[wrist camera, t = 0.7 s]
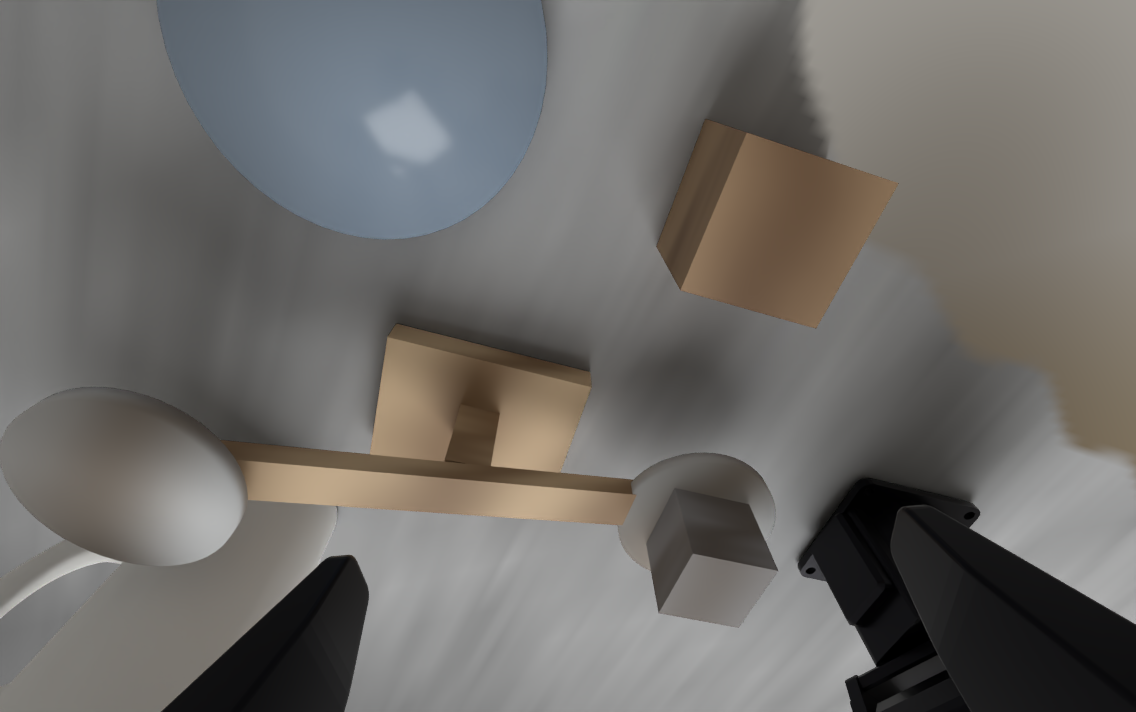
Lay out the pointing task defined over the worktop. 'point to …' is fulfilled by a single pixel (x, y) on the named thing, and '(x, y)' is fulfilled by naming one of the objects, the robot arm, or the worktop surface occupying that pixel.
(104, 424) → the balance
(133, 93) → the worktop surface
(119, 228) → the worktop surface
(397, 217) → the dish
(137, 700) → the mug
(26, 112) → the worktop surface
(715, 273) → the block
